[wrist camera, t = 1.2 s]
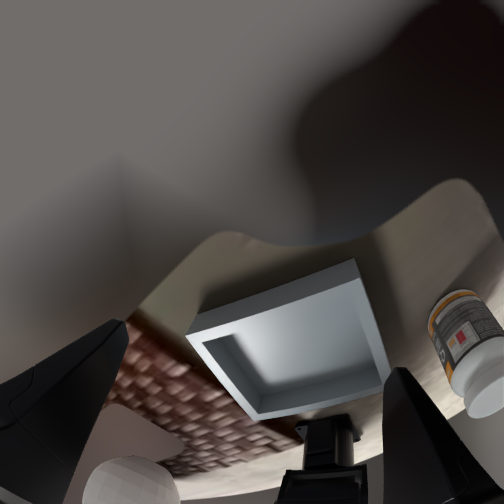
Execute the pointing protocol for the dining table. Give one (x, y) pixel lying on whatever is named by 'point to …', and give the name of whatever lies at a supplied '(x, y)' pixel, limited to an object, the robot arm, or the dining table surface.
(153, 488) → the pitcher
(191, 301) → the dining table surface
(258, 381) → the tray
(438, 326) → the pill bottle
